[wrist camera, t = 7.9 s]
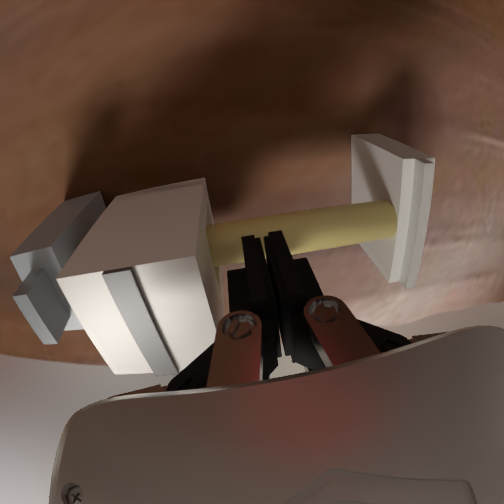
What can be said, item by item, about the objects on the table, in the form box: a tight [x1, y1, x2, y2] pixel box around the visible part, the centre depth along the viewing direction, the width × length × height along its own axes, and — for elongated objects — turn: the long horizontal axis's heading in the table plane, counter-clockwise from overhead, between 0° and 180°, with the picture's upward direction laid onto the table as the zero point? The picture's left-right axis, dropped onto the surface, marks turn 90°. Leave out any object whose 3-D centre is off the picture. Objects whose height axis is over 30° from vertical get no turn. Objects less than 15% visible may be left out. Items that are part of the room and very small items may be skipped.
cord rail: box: [10, 134, 435, 344], centre depth 15 cm, size 21×7×9 cm, turn 97°
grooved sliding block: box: [56, 178, 224, 376], centre depth 13 cm, size 5×5×8 cm
